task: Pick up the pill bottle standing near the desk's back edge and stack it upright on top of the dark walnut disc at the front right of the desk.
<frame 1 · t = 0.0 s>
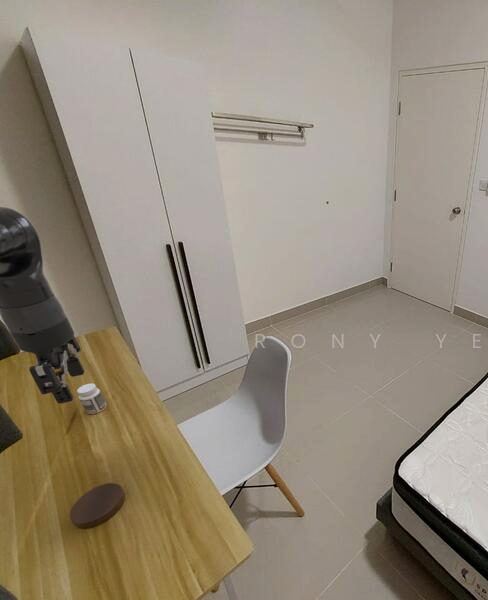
hand: (72, 387, 67), 29 cm above the table, tool pointing down, fingers open, 8 cm apart
walnut disc: (100, 507, 74), on the table
pill bottle: (97, 409, 99), on the table
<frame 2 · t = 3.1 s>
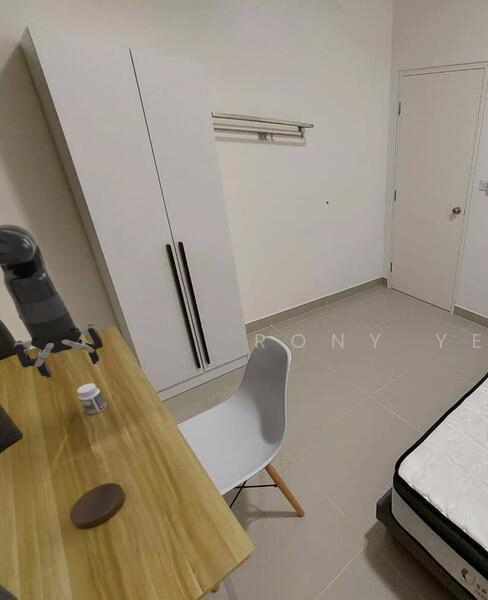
hand: (72, 368, 82), 22 cm above the table, tool pointing down, fingers open, 8 cm apart
nothing on the table moved.
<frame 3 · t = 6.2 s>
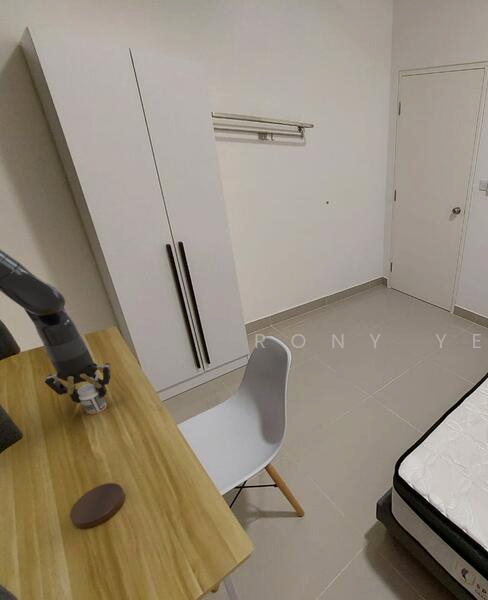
hand: (91, 398, 96), 4 cm above the table, tool pointing down, fingers closed on pill bottle, 4 cm apart
pill bottle: (97, 409, 99), on the table, touching gripper
everything else where it was.
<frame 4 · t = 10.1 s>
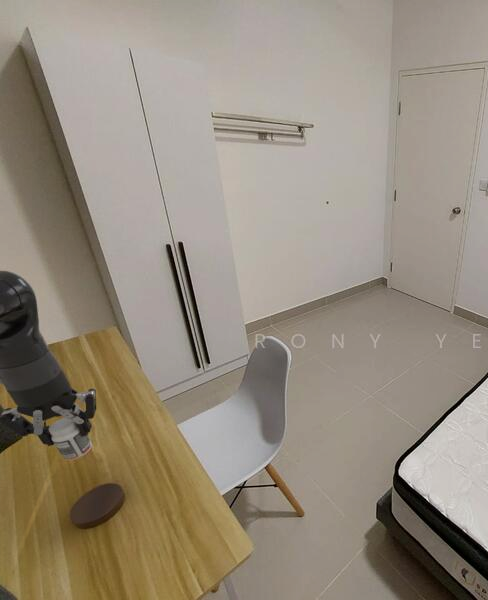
hand: (69, 437, 69), 18 cm above the table, tool pointing down, fingers closed on pill bottle, 4 cm apart
pill bottle: (78, 451, 71), point 14 cm above the table, touching gripper
everything else where it was.
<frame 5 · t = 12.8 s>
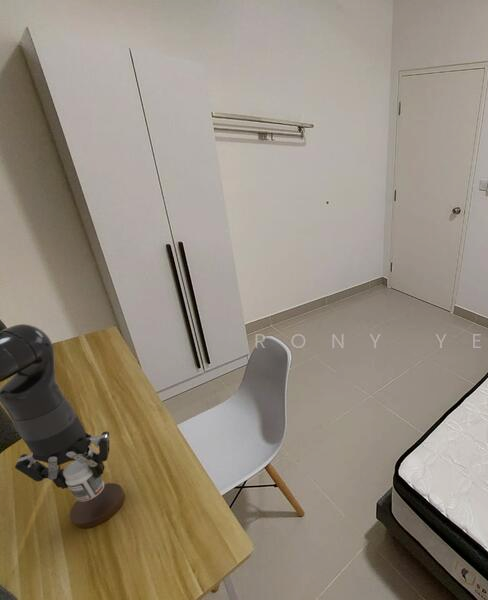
hand: (83, 479, 70), 10 cm above the table, tool pointing down, fingers closed on pill bottle, 4 cm apart
pill bottle: (91, 492, 72), point 6 cm above the table, touching gripper
everything else where it was.
when the fingers open (6 cm above the table, at t = 14.4 s): pill bottle stays where it is, resting on walnut disc.
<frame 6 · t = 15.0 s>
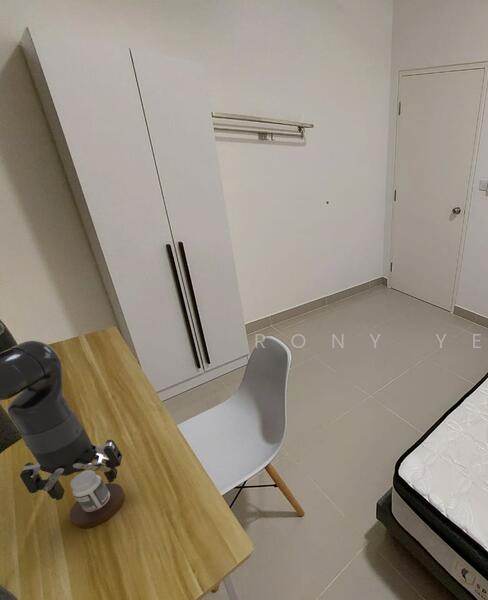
hand: (87, 487, 71), 8 cm above the table, tool pointing down, fingers open, 8 cm apart
walnut disc: (100, 507, 74), on the table, touching pill bottle
pill bottle: (97, 502, 73), point 2 cm above the table, touching walnut disc
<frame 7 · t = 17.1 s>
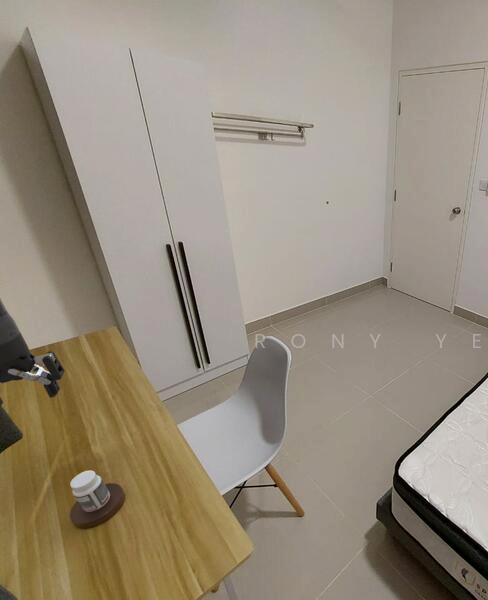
hand: (27, 400, 69), 24 cm above the table, tool pointing down, fingers open, 8 cm apart
nothing on the table moved.
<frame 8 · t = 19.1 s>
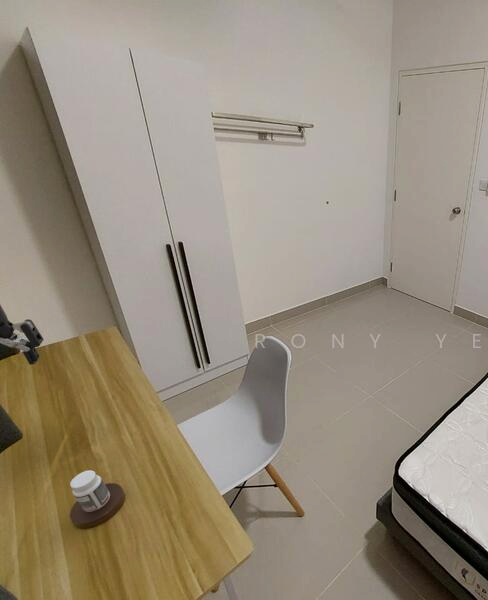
hand: (7, 367, 73), 28 cm above the table, tool pointing down, fingers open, 8 cm apart
nothing on the table moved.
at the end: pill bottle 0.1 cm off-centre on the walnut disc, point 1.8 cm above the walnut disc's base; pill bottle tilted 0° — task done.
